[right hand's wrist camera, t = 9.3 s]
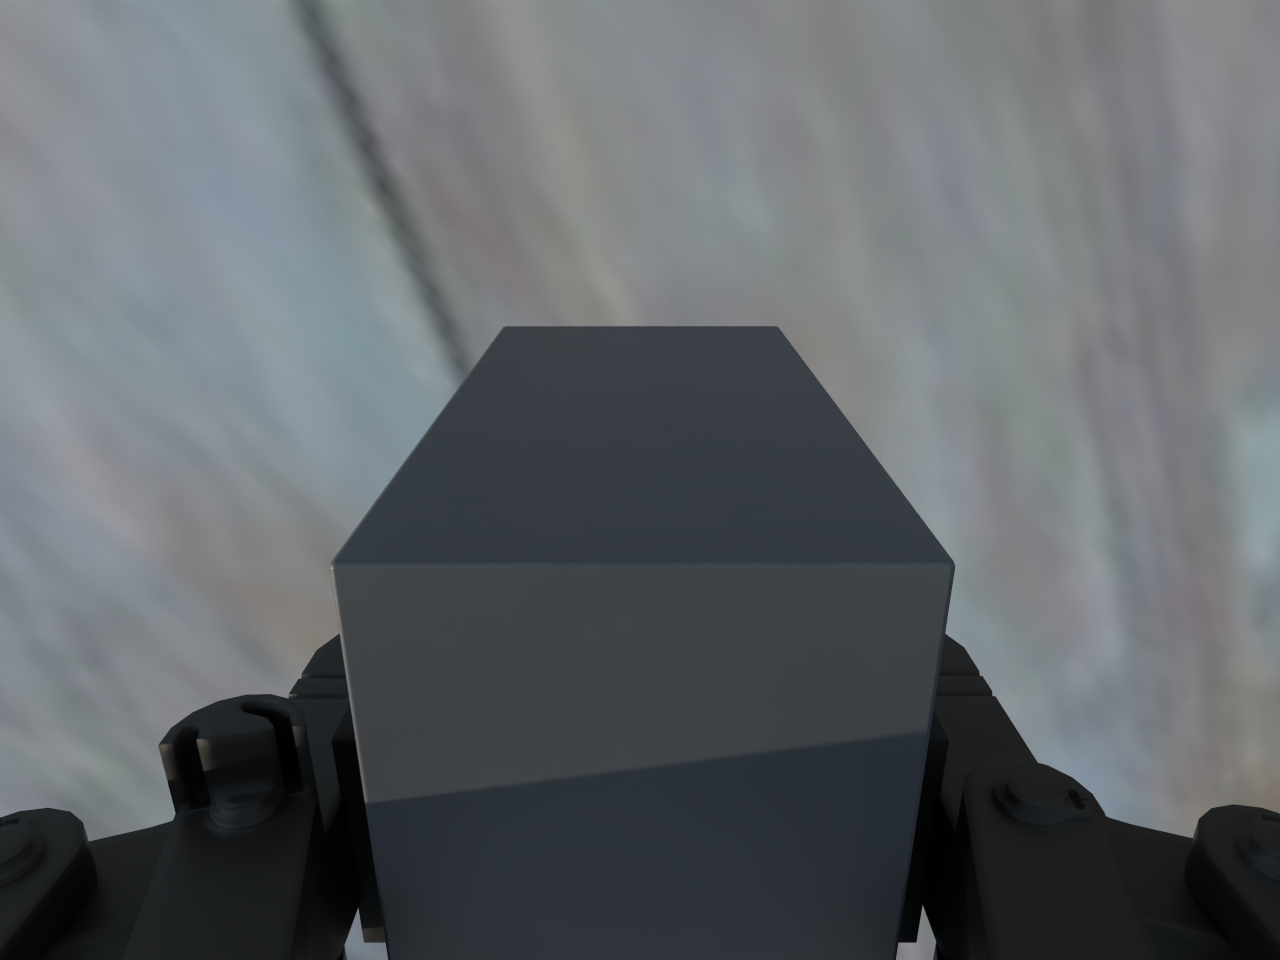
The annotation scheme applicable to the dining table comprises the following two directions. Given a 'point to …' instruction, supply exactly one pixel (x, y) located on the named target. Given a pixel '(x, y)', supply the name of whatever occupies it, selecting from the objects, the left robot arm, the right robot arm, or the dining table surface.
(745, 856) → the bar
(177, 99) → the dining table surface
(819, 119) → the dining table surface
